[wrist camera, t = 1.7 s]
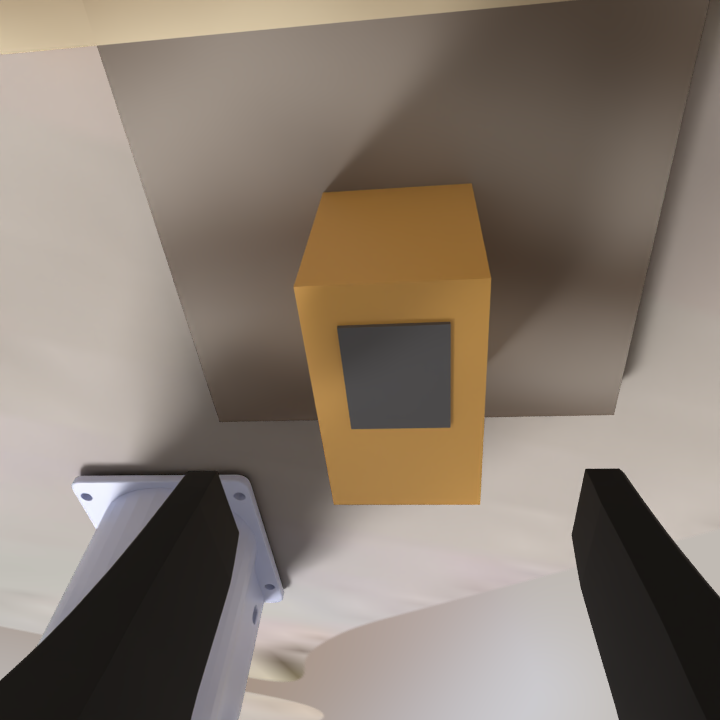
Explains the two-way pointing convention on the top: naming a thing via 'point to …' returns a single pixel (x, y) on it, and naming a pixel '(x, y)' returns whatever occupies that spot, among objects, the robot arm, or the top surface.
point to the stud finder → (398, 343)
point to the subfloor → (397, 163)
